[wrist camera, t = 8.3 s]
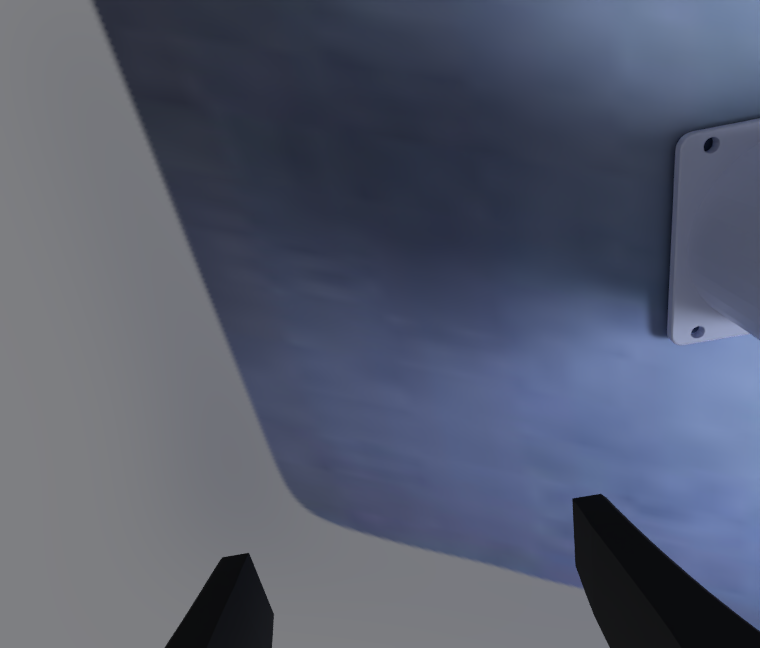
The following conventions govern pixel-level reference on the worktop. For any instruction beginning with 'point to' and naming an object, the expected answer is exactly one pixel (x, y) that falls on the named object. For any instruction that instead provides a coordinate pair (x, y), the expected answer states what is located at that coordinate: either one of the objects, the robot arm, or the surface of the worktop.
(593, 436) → the worktop surface
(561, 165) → the worktop surface
